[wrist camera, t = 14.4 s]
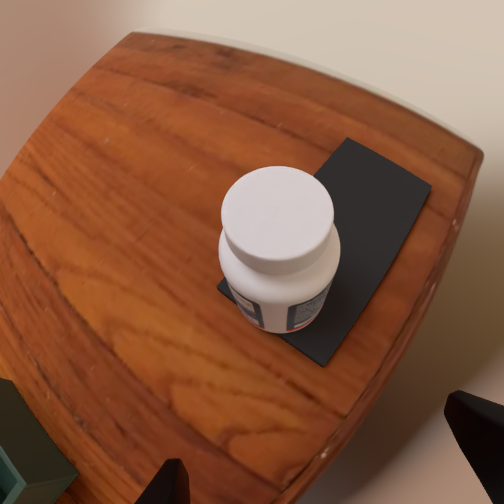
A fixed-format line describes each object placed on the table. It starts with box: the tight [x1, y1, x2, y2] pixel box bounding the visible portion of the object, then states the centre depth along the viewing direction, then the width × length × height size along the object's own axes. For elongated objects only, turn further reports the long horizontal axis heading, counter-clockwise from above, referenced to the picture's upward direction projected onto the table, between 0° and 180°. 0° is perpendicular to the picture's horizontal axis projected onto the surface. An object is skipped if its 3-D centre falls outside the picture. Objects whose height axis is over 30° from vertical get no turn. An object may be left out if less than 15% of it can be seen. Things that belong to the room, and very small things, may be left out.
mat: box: [217, 137, 432, 367], centre depth 21 cm, size 16×8×1 cm, turn 141°
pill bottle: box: [219, 166, 340, 333], centre depth 15 cm, size 5×5×9 cm
